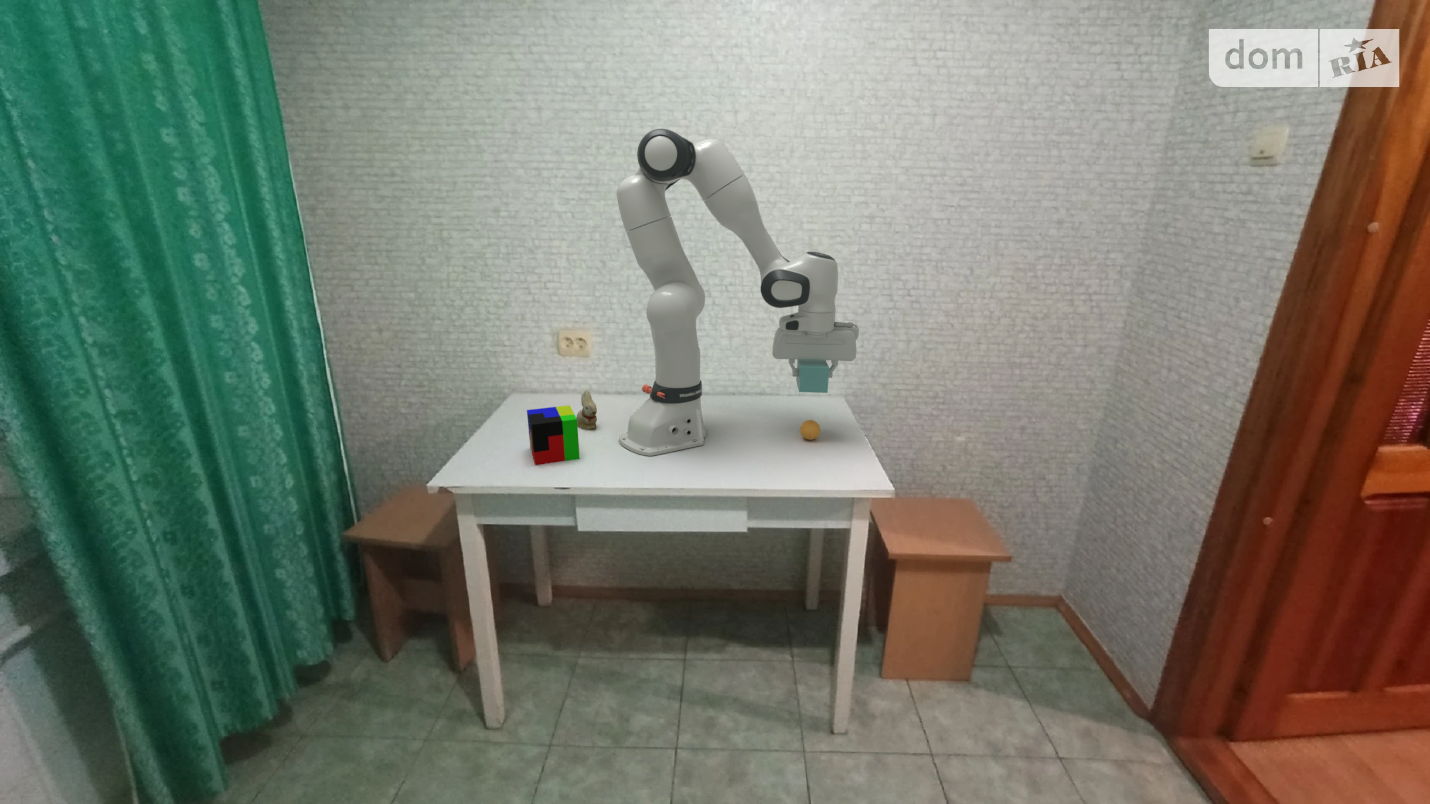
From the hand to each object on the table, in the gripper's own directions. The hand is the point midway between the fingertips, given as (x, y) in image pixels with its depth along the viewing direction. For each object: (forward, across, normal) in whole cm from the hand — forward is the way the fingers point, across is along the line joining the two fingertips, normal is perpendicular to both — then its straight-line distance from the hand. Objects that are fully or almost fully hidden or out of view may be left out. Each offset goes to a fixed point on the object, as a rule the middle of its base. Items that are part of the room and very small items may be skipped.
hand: (812, 376), depth 156 cm
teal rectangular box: (+3, 0, 0) cm, 3 cm away
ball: (+14, 0, +2) cm, 14 cm away
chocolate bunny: (+16, +58, -3) cm, 60 cm away
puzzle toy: (+17, +61, +16) cm, 65 cm away
